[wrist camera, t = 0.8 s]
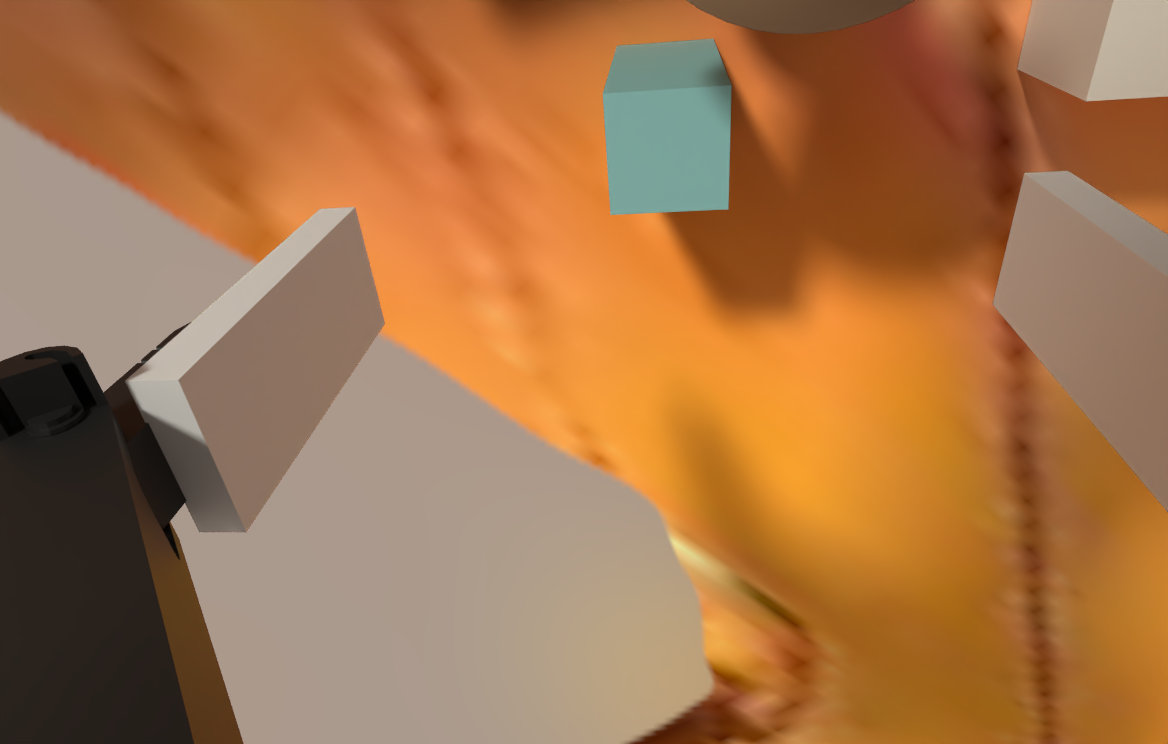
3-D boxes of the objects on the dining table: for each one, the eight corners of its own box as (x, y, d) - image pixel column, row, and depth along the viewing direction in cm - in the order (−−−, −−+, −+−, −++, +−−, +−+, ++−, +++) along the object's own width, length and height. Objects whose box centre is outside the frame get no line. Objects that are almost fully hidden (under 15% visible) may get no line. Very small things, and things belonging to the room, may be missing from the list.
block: (617, 45, 27) (602, 93, 20) (713, 38, 26) (731, 85, 20) (622, 141, 29) (610, 214, 22) (711, 136, 28) (728, 209, 22)
